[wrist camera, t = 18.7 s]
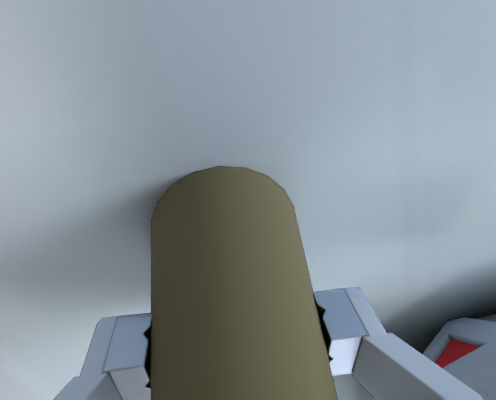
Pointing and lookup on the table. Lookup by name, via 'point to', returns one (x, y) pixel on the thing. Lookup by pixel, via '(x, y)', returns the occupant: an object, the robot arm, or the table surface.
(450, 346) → the first aid kit
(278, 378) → the cork
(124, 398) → the robot arm
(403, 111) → the table surface
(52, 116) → the table surface
